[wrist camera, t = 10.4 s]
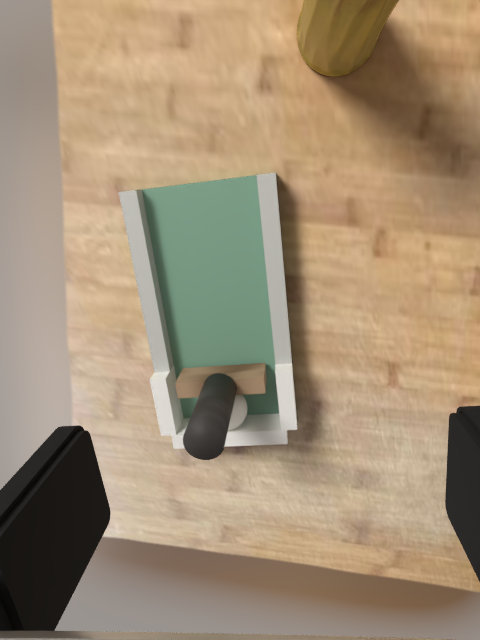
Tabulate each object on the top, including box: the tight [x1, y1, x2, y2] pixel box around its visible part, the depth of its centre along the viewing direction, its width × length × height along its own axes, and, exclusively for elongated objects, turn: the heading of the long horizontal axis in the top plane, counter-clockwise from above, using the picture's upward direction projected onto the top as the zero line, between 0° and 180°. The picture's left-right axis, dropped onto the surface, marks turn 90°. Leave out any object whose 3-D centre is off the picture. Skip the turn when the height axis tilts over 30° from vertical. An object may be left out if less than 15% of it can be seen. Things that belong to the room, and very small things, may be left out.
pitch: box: [119, 173, 297, 449], centre depth 38 cm, size 13×24×4 cm, turn 6°
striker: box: [175, 363, 267, 460], centre depth 35 cm, size 8×3×11 cm, turn 96°
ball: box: [228, 395, 248, 430], centre depth 39 cm, size 4×4×4 cm
